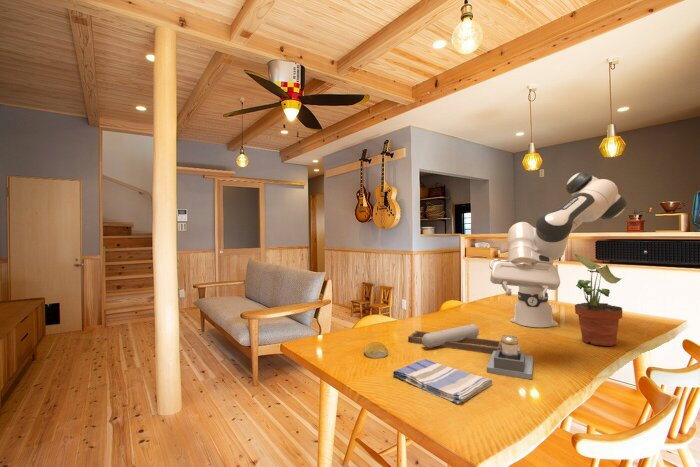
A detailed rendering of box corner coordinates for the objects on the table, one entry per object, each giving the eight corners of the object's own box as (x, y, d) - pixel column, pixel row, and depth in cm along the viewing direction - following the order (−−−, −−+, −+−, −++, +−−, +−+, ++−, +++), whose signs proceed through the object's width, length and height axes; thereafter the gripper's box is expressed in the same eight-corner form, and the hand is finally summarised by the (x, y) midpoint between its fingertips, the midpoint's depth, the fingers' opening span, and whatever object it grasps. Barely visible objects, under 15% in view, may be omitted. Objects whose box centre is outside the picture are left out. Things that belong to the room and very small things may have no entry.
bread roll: (384, 349, 126) (383, 338, 126) (390, 358, 117) (390, 346, 117) (362, 350, 125) (361, 340, 125) (366, 359, 116) (366, 348, 116)
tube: (429, 339, 121) (480, 328, 132) (420, 331, 125) (470, 321, 136) (426, 352, 122) (477, 340, 133) (417, 343, 127) (467, 332, 138)
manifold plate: (493, 354, 117) (493, 341, 117) (533, 360, 111) (532, 346, 111) (486, 372, 103) (486, 357, 103) (531, 379, 97) (531, 363, 97)
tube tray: (415, 335, 141) (415, 330, 141) (502, 346, 124) (502, 341, 124) (408, 342, 133) (408, 336, 133) (500, 354, 117) (500, 349, 117)
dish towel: (460, 408, 83) (459, 396, 83) (390, 378, 102) (390, 368, 102) (495, 386, 94) (495, 376, 94) (427, 363, 113) (426, 354, 113)
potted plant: (570, 344, 125) (568, 249, 125) (578, 334, 136) (576, 247, 136) (625, 353, 114) (622, 249, 114) (629, 342, 125) (626, 247, 125)
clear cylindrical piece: (505, 360, 107) (504, 334, 107) (521, 365, 104) (520, 337, 104) (498, 365, 104) (498, 337, 104) (515, 369, 100) (514, 340, 100)
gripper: (490, 253, 117) (490, 287, 108) (558, 258, 110) (564, 295, 102) (488, 264, 121) (488, 297, 113) (553, 270, 115) (558, 305, 106)
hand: (525, 296), depth 107 cm, fingers open, 8 cm apart
